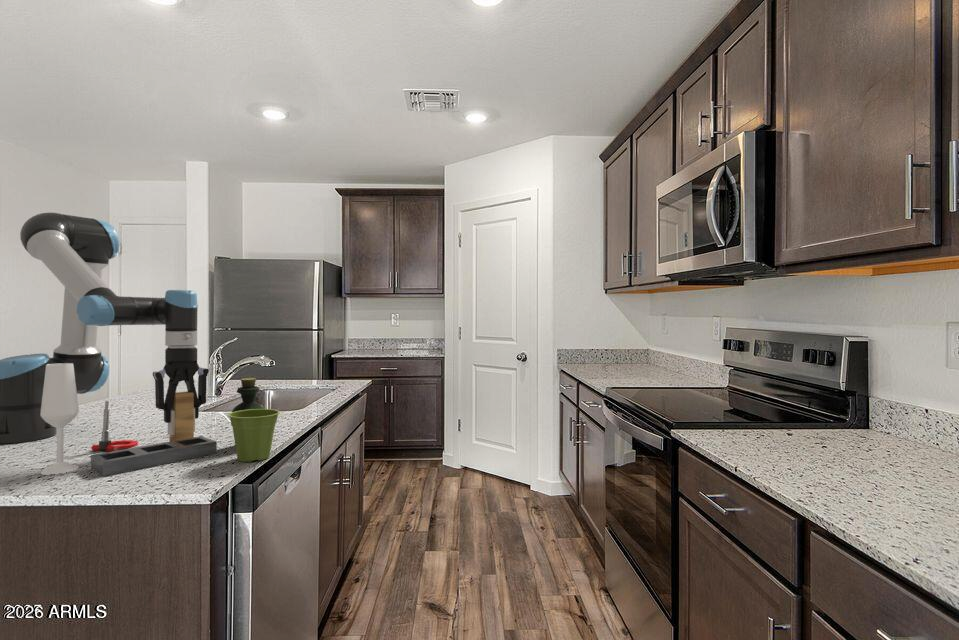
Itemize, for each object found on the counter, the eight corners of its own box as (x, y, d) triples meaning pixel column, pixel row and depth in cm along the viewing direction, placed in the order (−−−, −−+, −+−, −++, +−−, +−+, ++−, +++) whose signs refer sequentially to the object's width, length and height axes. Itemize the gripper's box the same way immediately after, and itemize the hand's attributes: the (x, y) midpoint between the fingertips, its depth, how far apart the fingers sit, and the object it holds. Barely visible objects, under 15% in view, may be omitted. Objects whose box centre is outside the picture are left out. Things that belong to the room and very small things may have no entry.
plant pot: (274, 464, 120) (274, 416, 120) (220, 466, 118) (220, 418, 118) (284, 450, 132) (284, 407, 132) (236, 452, 130) (236, 408, 130)
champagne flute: (83, 464, 119) (83, 362, 119) (72, 473, 113) (71, 365, 113) (48, 467, 117) (48, 363, 116) (34, 476, 110) (34, 366, 110)
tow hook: (118, 443, 140) (87, 450, 131) (120, 396, 141) (90, 400, 132) (145, 445, 139) (116, 452, 130) (147, 397, 139) (118, 401, 130)
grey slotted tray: (90, 468, 116) (90, 455, 116) (201, 447, 135) (201, 436, 135) (103, 476, 111) (102, 462, 111) (216, 453, 129) (216, 441, 129)
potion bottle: (224, 448, 134) (224, 380, 134) (243, 441, 142) (243, 376, 142) (253, 450, 133) (253, 381, 132) (270, 442, 141) (270, 377, 140)
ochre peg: (169, 444, 138) (169, 393, 138) (186, 441, 141) (186, 391, 141) (176, 447, 135) (175, 394, 135) (193, 444, 138) (193, 392, 138)
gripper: (150, 349, 129) (150, 440, 129) (220, 346, 142) (220, 429, 143) (139, 347, 133) (139, 436, 134) (208, 344, 147) (208, 425, 147)
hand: (181, 432), depth 138 cm, fingers closed on ochre peg, 4 cm apart
